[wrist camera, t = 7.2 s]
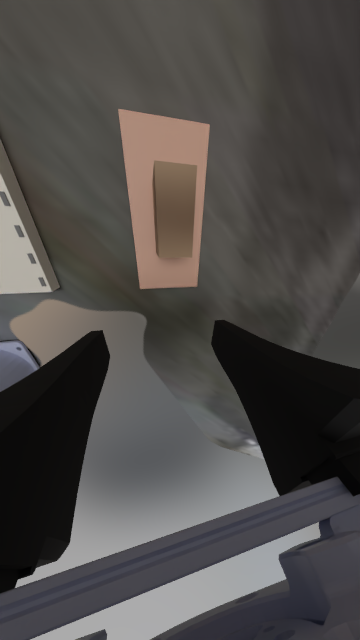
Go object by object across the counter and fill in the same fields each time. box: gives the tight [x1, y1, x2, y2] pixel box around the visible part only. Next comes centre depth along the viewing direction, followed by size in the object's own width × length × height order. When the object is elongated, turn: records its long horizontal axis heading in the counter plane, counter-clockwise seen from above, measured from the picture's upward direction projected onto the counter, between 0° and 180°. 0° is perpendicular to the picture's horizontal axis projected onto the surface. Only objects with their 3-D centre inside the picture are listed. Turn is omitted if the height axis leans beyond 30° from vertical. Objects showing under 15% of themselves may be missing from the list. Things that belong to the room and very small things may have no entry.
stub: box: [118, 109, 210, 289], centre depth 12 cm, size 12×6×6 cm, turn 179°
